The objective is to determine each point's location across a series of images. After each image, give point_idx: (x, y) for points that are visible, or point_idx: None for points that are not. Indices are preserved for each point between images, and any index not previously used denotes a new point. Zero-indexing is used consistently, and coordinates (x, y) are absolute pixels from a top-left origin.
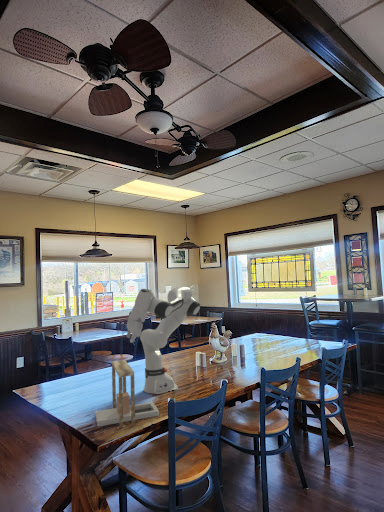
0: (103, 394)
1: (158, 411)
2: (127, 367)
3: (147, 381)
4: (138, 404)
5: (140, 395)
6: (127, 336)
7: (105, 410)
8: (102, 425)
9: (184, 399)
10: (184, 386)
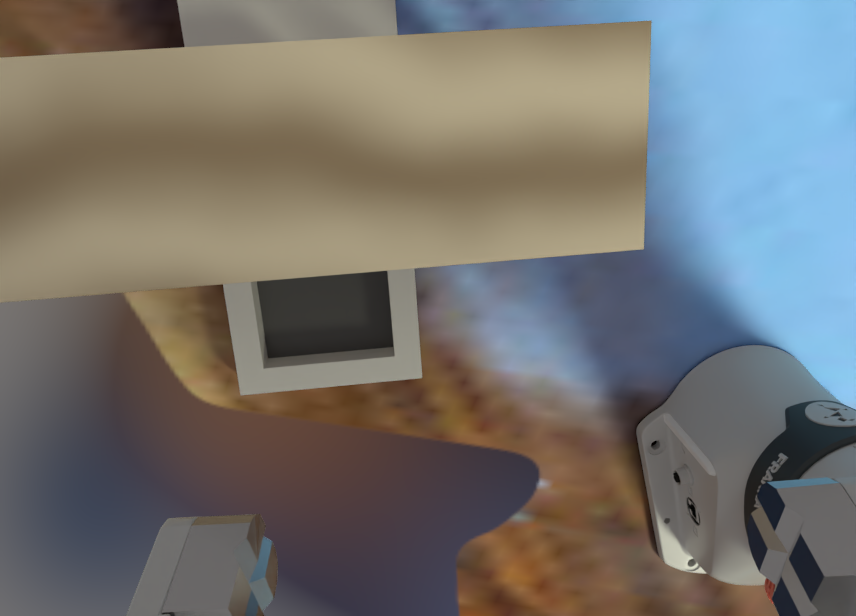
0: (845, 24)
1: (241, 390)
2: (141, 244)
3: (761, 402)
4: (412, 274)
5: (675, 311)
6: (780, 515)
7: (378, 6)
8: None
9: (469, 568)
10: (702, 609)
